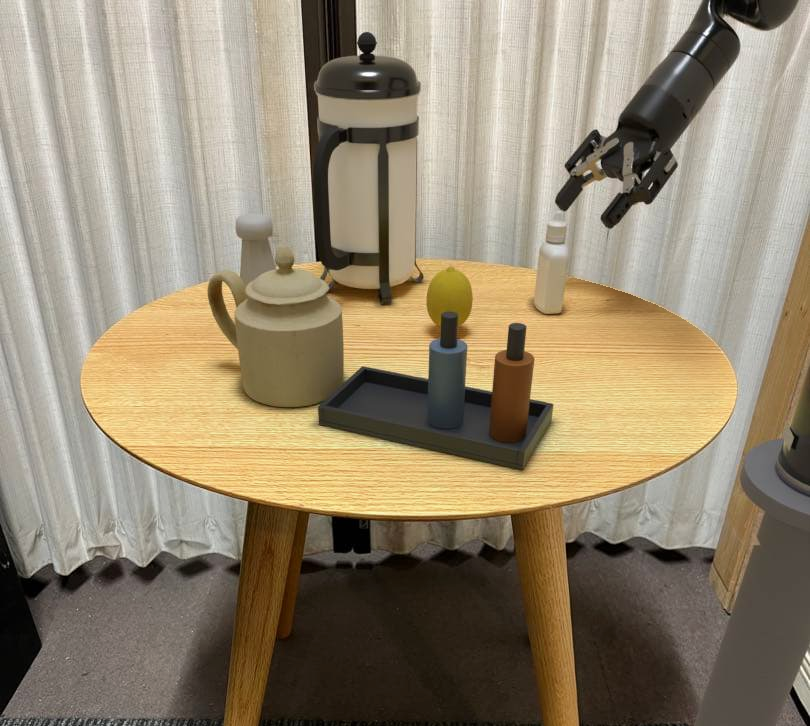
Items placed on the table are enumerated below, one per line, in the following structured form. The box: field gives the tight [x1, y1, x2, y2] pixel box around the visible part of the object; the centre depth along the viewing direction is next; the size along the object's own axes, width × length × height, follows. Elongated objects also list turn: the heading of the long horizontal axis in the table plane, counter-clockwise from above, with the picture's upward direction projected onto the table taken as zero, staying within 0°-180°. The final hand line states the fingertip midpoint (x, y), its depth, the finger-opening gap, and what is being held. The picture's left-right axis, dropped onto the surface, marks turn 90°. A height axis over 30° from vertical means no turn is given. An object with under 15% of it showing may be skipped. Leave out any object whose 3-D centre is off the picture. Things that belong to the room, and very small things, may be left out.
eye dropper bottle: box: [533, 210, 570, 315], centre depth 105 cm, size 4×6×12 cm
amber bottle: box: [489, 322, 535, 443], centre depth 77 cm, size 4×4×11 cm
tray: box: [317, 366, 555, 471], centre depth 82 cm, size 21×10×2 cm, turn 67°
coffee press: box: [312, 31, 425, 305], centre depth 104 cm, size 17×16×30 cm
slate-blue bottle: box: [427, 311, 468, 429], centre depth 79 cm, size 4×4×11 cm
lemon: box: [426, 266, 474, 328], centre depth 99 cm, size 6×6×8 cm
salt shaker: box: [234, 212, 277, 286], centre depth 99 cm, size 6×6×13 cm
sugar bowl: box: [207, 244, 345, 408], centre depth 85 cm, size 15×11×15 cm
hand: (581, 215), depth 103 cm, fingers open, 8 cm apart
